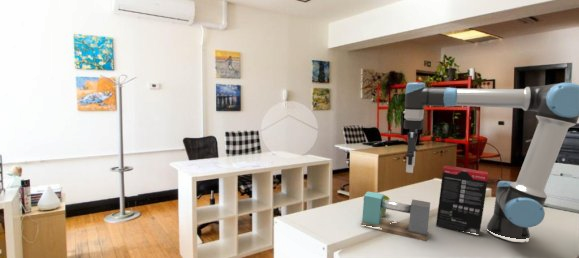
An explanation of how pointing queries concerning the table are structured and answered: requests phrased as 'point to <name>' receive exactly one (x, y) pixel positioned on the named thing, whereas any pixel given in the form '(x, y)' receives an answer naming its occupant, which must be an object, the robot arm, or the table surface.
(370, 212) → the teal socket block
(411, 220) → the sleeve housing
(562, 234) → the table surface
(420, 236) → the walnut board
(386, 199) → the plant pot
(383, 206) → the steel tube
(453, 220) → the graphics card box
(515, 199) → the robot arm
